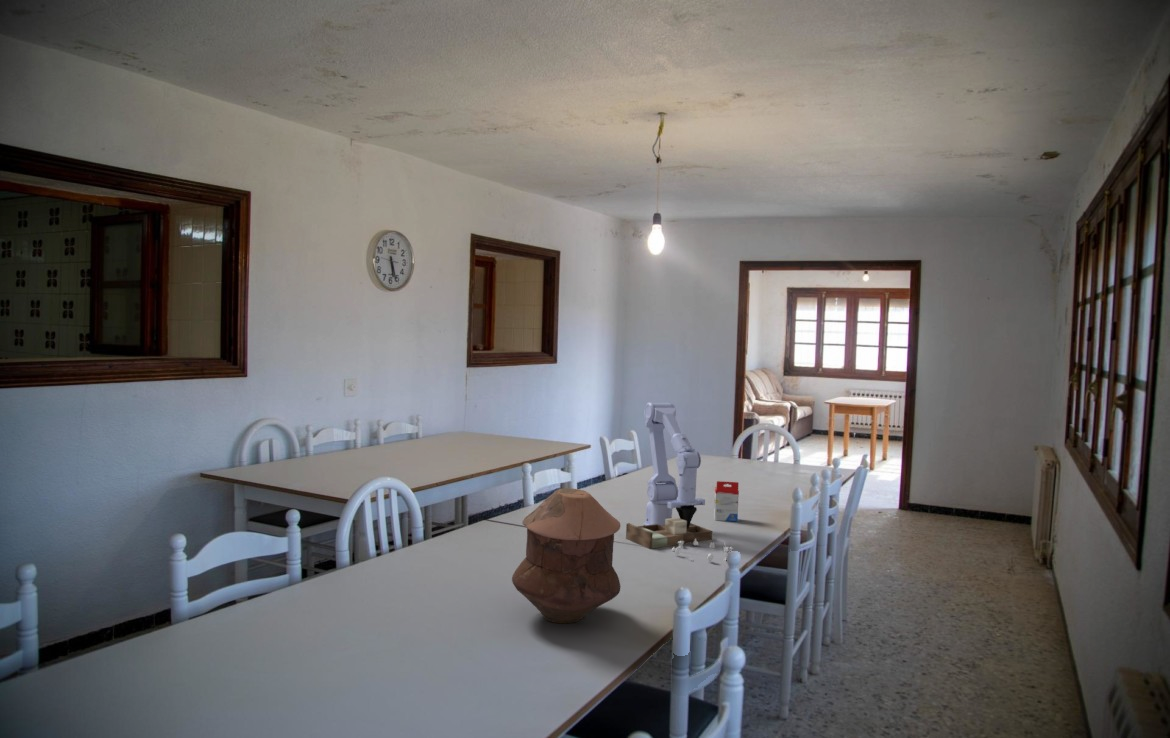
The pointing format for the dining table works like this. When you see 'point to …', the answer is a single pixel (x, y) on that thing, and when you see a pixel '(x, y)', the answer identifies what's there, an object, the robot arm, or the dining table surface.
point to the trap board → (665, 535)
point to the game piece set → (695, 542)
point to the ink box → (726, 501)
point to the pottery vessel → (568, 556)
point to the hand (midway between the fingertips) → (685, 528)
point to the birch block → (675, 526)
